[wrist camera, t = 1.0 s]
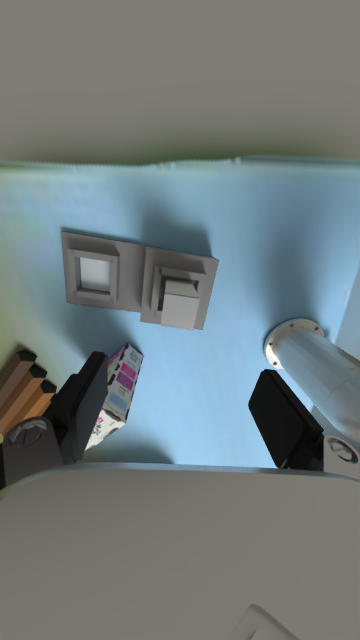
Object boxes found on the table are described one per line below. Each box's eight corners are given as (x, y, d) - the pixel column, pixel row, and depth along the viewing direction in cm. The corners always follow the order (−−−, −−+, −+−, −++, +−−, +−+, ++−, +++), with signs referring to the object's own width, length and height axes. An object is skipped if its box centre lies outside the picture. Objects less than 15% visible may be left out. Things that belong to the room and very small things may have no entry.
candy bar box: (126, 340, 39) (98, 404, 24) (144, 355, 40) (128, 423, 25) (93, 371, 41) (48, 445, 26) (111, 383, 43) (78, 460, 28)
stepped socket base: (212, 256, 33) (222, 261, 26) (198, 318, 37) (204, 335, 31) (64, 231, 30) (35, 229, 24) (69, 301, 35) (46, 315, 28)
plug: (191, 282, 29) (199, 298, 21) (187, 305, 31) (193, 330, 23) (166, 278, 29) (164, 293, 21) (163, 302, 31) (160, 325, 22)
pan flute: (24, 346, 39) (-21, 412, 46) (11, 355, 36) (-35, 425, 42) (123, 402, 46) (71, 452, 53) (119, 414, 43) (65, 465, 50)
